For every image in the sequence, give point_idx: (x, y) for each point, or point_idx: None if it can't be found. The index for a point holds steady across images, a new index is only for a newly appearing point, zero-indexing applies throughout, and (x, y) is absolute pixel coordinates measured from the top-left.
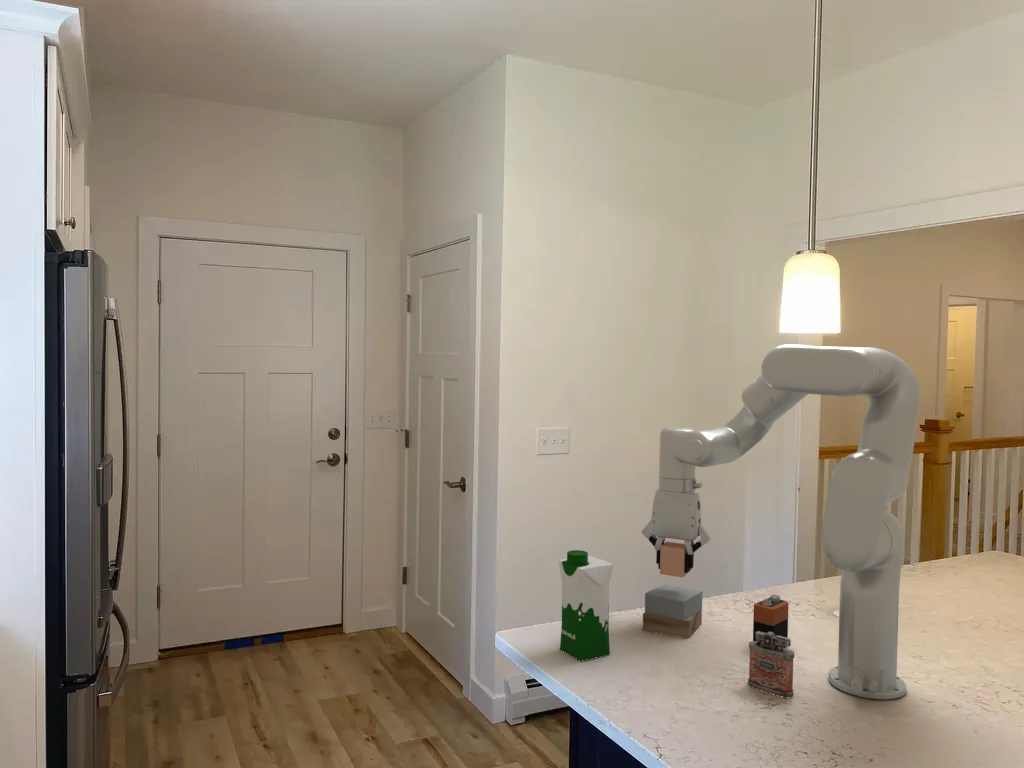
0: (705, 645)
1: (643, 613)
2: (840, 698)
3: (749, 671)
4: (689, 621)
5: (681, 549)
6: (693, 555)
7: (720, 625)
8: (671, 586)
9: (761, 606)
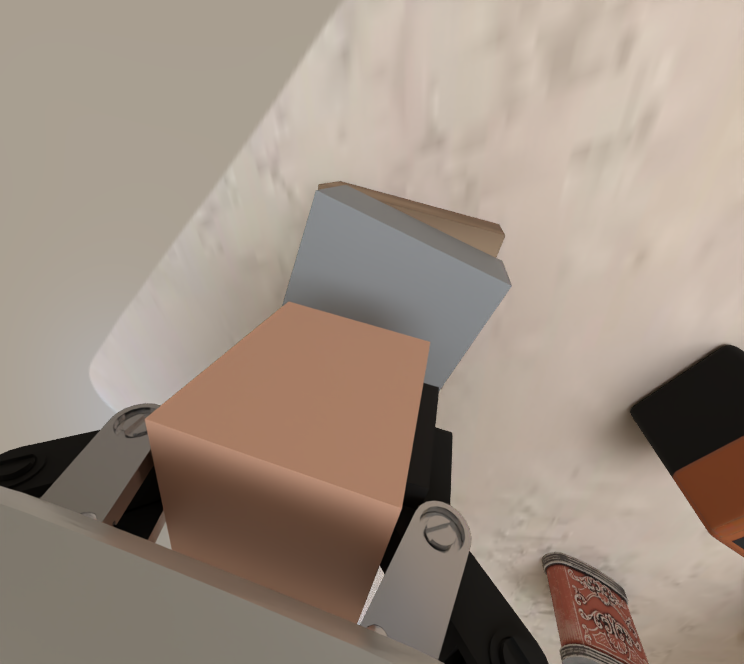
0: (485, 398)
1: None
2: (728, 612)
3: (550, 589)
4: (441, 388)
5: (336, 614)
6: (448, 503)
7: (574, 220)
8: (355, 232)
9: (740, 553)
